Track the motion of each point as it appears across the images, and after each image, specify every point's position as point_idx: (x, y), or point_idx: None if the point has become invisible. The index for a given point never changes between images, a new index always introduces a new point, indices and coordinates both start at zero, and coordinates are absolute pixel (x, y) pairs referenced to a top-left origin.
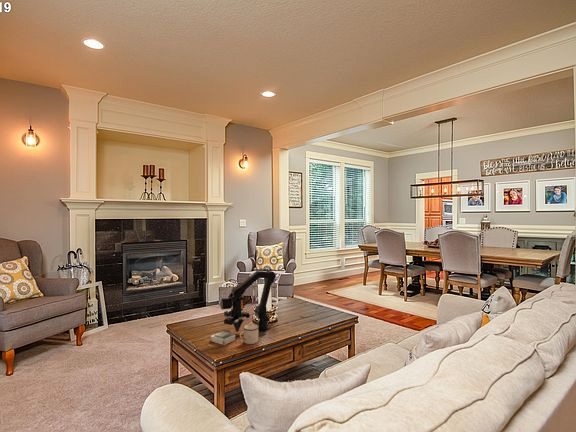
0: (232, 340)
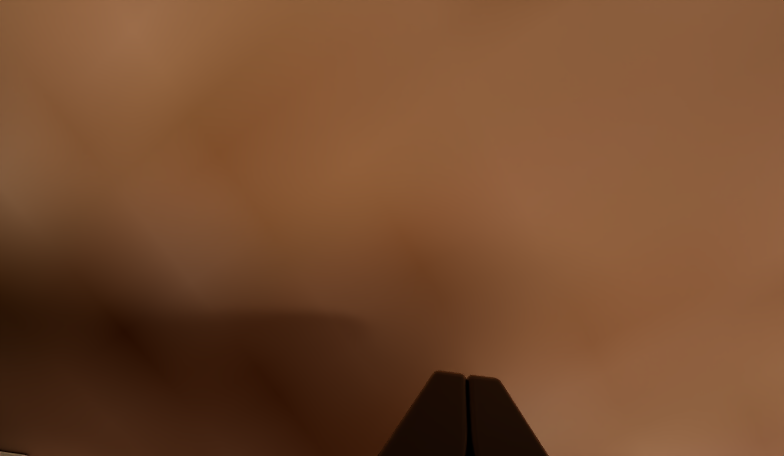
0: None
